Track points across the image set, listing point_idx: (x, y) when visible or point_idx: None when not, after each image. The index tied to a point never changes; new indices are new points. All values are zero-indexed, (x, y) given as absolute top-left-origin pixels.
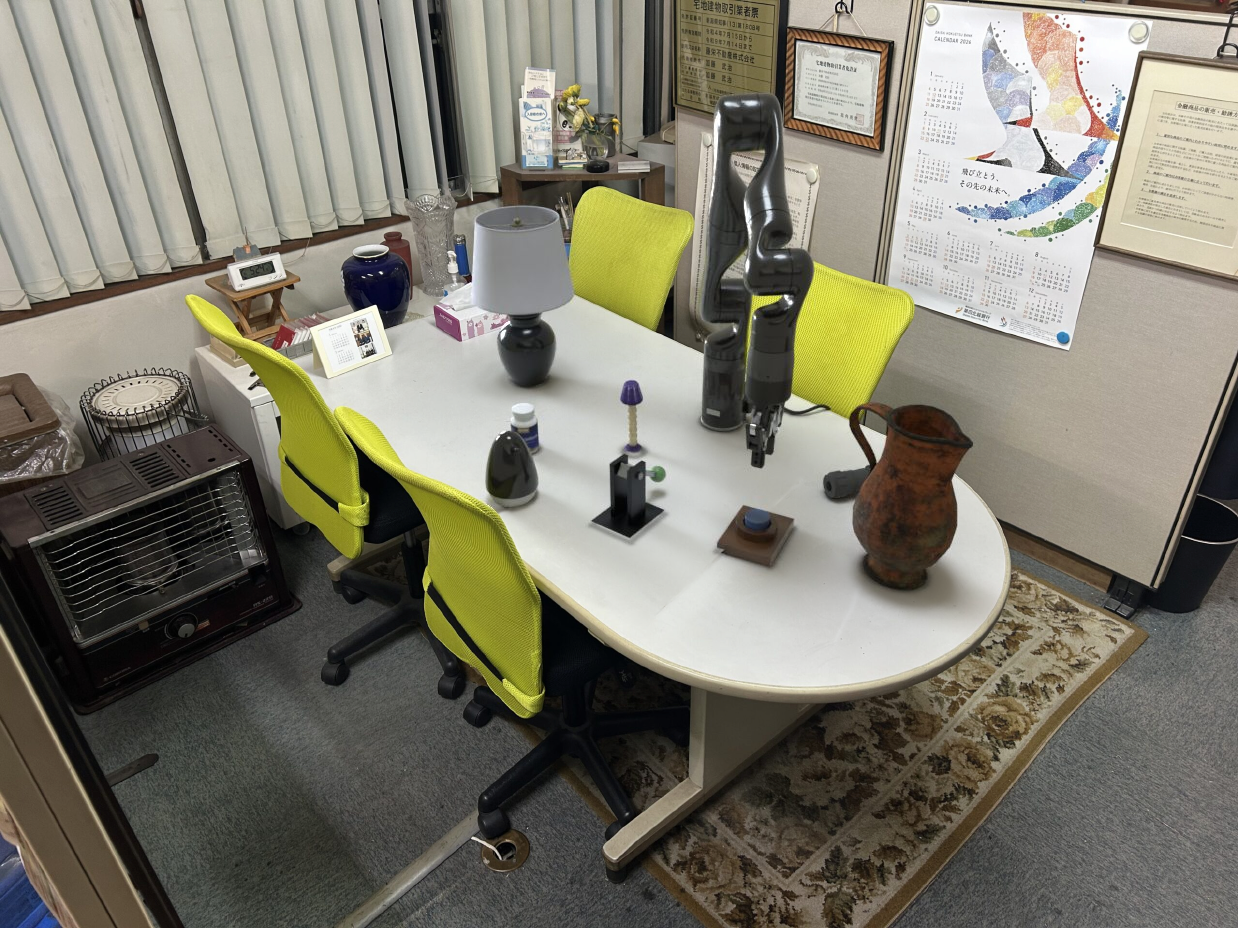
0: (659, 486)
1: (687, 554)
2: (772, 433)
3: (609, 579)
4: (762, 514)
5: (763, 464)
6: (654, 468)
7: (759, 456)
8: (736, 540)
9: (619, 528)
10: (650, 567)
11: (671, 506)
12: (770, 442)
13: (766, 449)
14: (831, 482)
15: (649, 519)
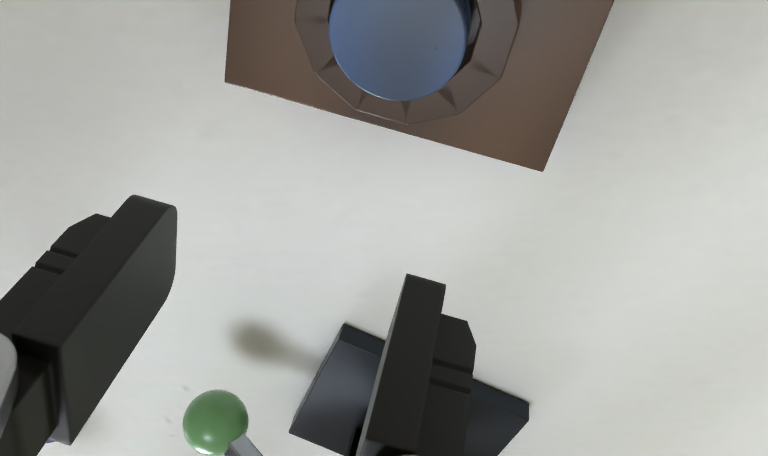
0: (188, 342)
1: (573, 244)
2: (20, 391)
3: (737, 441)
4: (376, 11)
5: (435, 303)
6: (214, 454)
7: (464, 433)
8: (517, 92)
9: (483, 444)
10: (666, 346)
11: (286, 305)
12: (104, 314)
13: (153, 278)
14: None
15: None
